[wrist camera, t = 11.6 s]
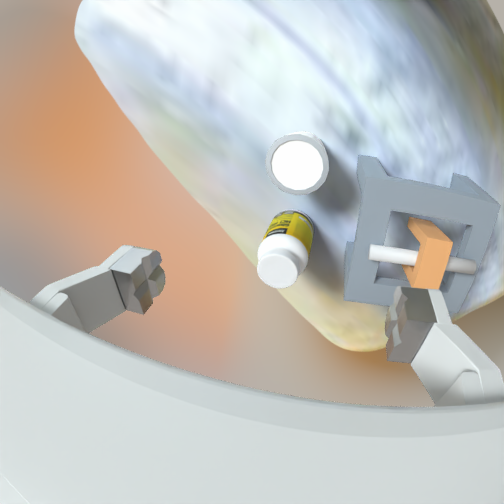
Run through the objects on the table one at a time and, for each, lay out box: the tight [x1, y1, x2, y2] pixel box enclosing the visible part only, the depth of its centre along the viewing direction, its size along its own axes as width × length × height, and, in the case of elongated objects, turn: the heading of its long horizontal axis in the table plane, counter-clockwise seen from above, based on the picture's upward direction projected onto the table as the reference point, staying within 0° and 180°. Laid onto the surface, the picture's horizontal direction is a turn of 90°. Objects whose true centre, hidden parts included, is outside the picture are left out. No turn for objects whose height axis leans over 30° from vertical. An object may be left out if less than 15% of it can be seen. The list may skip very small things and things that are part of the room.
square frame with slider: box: [344, 155, 500, 313], centre depth 30 cm, size 15×16×12 cm
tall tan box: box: [401, 217, 453, 290], centre depth 27 cm, size 6×3×8 cm, turn 0°
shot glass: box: [265, 131, 329, 195], centre depth 32 cm, size 7×7×7 cm
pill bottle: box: [257, 209, 314, 288], centre depth 36 cm, size 6×6×11 cm
